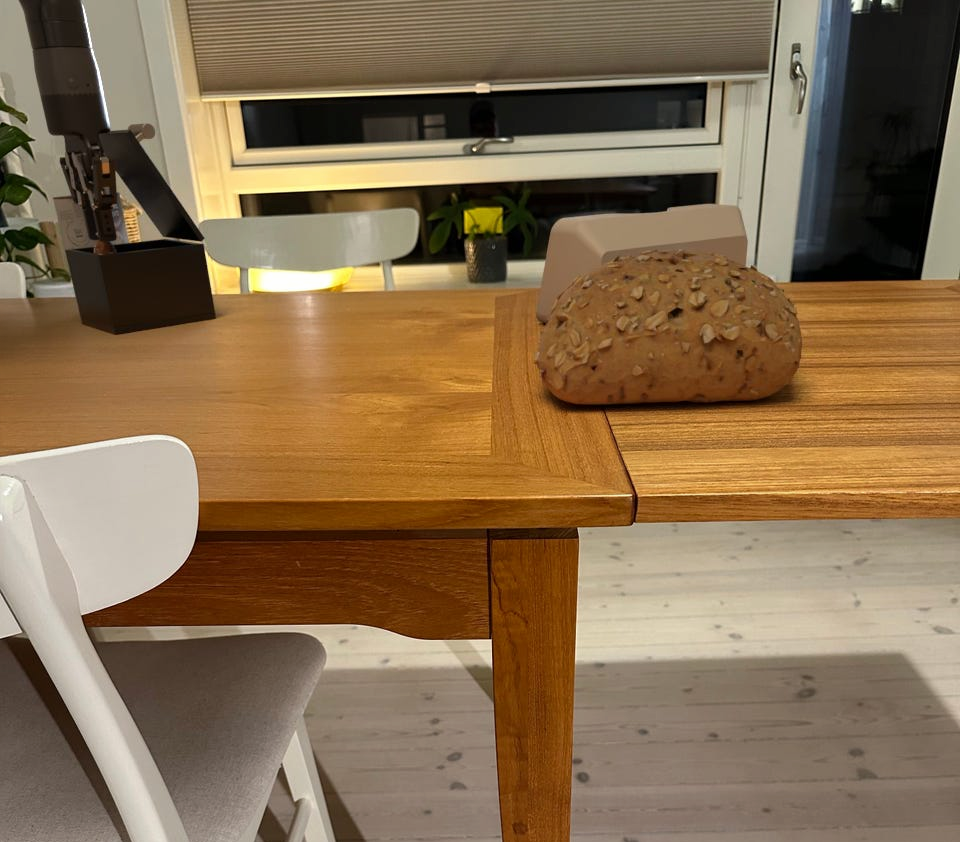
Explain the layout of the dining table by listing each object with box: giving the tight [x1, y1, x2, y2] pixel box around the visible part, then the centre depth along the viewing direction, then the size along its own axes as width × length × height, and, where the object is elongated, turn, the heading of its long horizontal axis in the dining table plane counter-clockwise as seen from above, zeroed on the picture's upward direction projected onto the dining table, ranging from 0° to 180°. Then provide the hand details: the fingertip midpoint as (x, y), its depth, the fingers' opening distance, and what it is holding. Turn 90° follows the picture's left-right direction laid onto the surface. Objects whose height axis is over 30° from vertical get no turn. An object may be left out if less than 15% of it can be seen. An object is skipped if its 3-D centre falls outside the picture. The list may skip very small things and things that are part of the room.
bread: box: [532, 249, 803, 406], centre depth 89 cm, size 24×21×12 cm
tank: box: [535, 203, 749, 324], centre depth 117 cm, size 25×16×12 cm, turn 119°
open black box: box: [64, 238, 217, 335], centre depth 133 cm, size 15×13×10 cm
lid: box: [99, 122, 206, 243], centre depth 129 cm, size 15×13×5 cm
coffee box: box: [52, 191, 130, 315], centre depth 141 cm, size 9×6×16 cm
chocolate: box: [94, 233, 117, 255], centre depth 128 cm, size 3×2×4 cm
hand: (103, 239), depth 127 cm, fingers open, 3 cm apart
